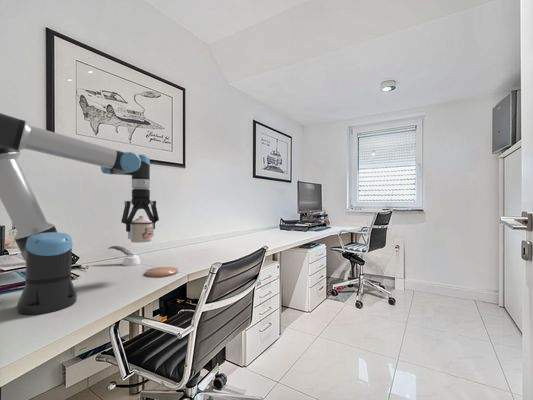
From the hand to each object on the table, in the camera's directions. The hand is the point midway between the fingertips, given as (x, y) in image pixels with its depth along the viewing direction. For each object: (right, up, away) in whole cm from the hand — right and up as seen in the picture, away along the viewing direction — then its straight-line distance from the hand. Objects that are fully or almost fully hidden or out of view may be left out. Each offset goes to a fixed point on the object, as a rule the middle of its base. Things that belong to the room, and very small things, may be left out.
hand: (141, 237), depth 121 cm
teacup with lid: (+1, -2, +1) cm, 2 cm away
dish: (+7, -18, +8) cm, 21 cm away
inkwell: (-22, -19, +26) cm, 39 cm away
